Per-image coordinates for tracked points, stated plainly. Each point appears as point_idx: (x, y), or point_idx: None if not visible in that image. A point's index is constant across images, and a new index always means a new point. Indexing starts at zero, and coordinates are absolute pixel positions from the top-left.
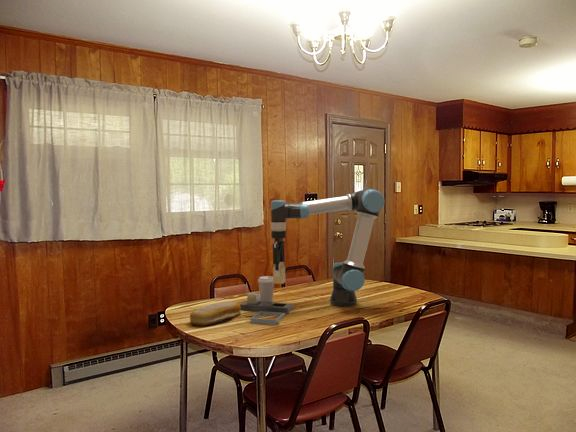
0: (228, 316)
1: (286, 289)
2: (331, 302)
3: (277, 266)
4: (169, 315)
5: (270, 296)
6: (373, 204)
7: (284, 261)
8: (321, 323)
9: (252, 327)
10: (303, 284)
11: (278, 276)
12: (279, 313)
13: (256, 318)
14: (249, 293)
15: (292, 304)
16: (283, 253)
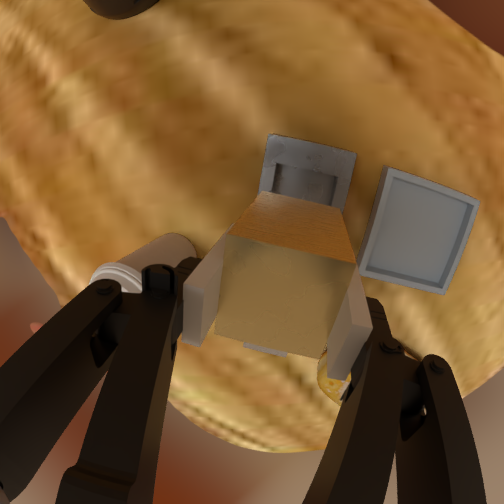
0: (413, 358)
1: (15, 210)
2: (149, 2)
3: (386, 332)
4: None
5: (174, 252)
6: None
7: (177, 272)
8: (438, 31)
9: (477, 274)
10: None
11: None
12: (389, 189)
13: (450, 275)
14: (263, 350)
15: (270, 134)
16: (66, 355)
